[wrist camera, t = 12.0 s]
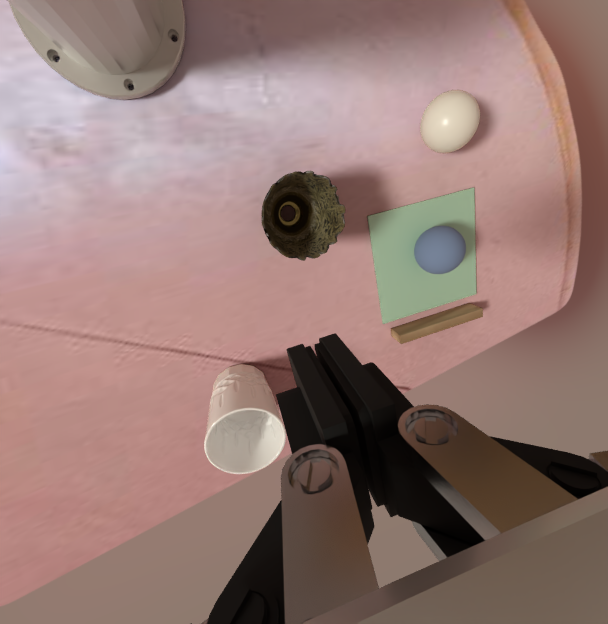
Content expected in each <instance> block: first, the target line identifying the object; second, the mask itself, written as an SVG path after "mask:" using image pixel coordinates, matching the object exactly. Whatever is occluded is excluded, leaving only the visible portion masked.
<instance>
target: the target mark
mask: <svg viewBox="0 0 608 624" xmlns="http://www.w3.org/2000/svg"><path fill="white" fill-rule="evenodd" d="M367 217H368V224H369V231H370V238H371V245H372V252H373V259H374V266H375V273H376V280H377V287H378V294H379V300H380V307H381V314H382V321H383V324H385V323H388V322H391V321H394V320H397V319H400V318H404V317H407V316H410V315H413V314H416V313H419V312H422V311H425V310H428V309H431V308H435V307H438V306H441V305H444V304H447V303H450V302H453V301H456V300H459V299H462V298H465V297H469V296H472V295H475V294H476V250H475V200H474V188H470V189H466V190H462V191H459V192H455V193H451V194H448V195H444V196H440V197H436V198H433V199H429V200H425V201H422V202H418V203H414V204H411V205H407V206H403V207H399V208H396V209H392V210H388V211H385V212H381V213H377V214H373V215H370V216H367ZM435 226H449V227H452V228H454V229H456V230H457V231H458V232H460V234H461V235H462V236H463V238H464V240H465V243H466V253H465V256H464V259H463V261H462V262H461V263H460V265H459V266H458V267H457V268H455V269H454V270H452V271H450V272H448V273H444V274H432V273H429V272H426V271H425V270H423V269H422V268H421V267H420V266H419V265H418V263H417V262H416V259H415V256H414V248H415V244H416V241H417V240H418V238H419V237H420V235H421V234H422V233H423V232H425V231H426V230H428V229H429V228H432V227H435Z"/></svg>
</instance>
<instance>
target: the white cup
mask: <svg viewBox="0 0 608 624" xmlns="http://www.w3.org/2000/svg"><path fill="white" fill-rule="evenodd" d="M285 440H286V432H285V428H284V425H283V422H282V419H281V416H280V413H279V410H278V407H277V404H276V402H275V399H274V396H273V394H272V391H271V389H270V387H269V385H268V382H267V380H266V378H265V376H264V374H263V372H261V371H260V370H259V369H257V368H256V367H254V366H251V365H244V364H239V365H235V366H231V367H228V368H227V369H226V370H224V371H223V372H222V373H220V374H219V376H218V377H217V379H216V381H215V383H214V385H213V394H212V397H211V401H210V408H209V413H208V420H207V428H206V436H205V443H204V448H205V453H206V456H207V458H208V459H209V461H210V462H211V463H212V464H213V465H214V466H215V467H216V468H218V469H220V470H222V471H224V472H227V473H232V474H247V473H252V472H255V471H258V470H260V469H263V468H264V467H266V466H268V465H269V464H271V463H272V462H273V461H274V460H275V459H276V458H277V457H278V456H279V454H280V453H281V451H282V449H283V447H284V445H285Z"/></svg>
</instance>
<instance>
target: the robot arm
mask: <svg viewBox="0 0 608 624" xmlns="http://www.w3.org/2000/svg"><path fill="white" fill-rule="evenodd" d="M7 1H8V2H9V4H10V7H11V9H12V12H13V15H14V17H15V19H16V21H17V23H18V25H19V27H20V28H21V30H22V32H23V34H24V36H25V37H26V39H27V40H28V41H29V43H30V44H31V45H32V47H33V48H34V49H35V51H36V52H37V53H38V54H39V55H40V56H41V57H42V58H43V59H44V61H45V62H46V63H47V64H48V65H49V66H50V67H51V68H53V69H54V70H55V71H56V72H58V73H59V74H60V75H61V76H62V77H64V78H65V79H67V80H68V81H70V82H71V83H73V84H74V85H76V86H77V87H79V88H81V89H83V90H86V91H88V92H90V93H92V94H94V95H98V96H102V97H106V98H110V99H122V100H126V99H134V98H140V97H142V96H145V95H148V94H150V93H153V92H154V91H155V90H157V89H158V88H160V87H161V86H163V85H164V84H165V83H166V82H167V80H168V79H169V78H170V77H171V76H172V75H173V73H174V71H175V69H176V68H177V66H178V64H179V62H180V59H181V56H182V52H183V49H184V42H185V34H186V29H185V14H184V9H183V3H182V0H7ZM173 37H176V38H177V39H178V40H177V41H176V42H173V41H172V38H173ZM56 57H60V60H59V61H58V62H56V60H55V59H56ZM129 85H134V90H129ZM319 342H320V343H318V344H315V350H316V354H317V356H316V355H315V353H314V351H313V350H312V348H311V346H308V347H304V345H303V344H300V345H297V346H294V347H291V348H288V349H287V353H288V356H289V360H290V364H291V367H292V371H293V374H294V378H295V381H296V385H297V388H294V389H291V390H288V391H285V392H282V393H279V394H276V396H277V400H278V404H279V407H280V411H281V414H282V418H283V422H284V425H285V429H286V433H287V436H288V440H289V444H290V447H291V451H292V455H291V457H290V458H289V459H288V460H287V461H286V463H285V465H284V467H283V469H282V474H281V499H282V500H281V501H280V503H279V504H278V506H277V507H276V509H275V510H274V512H273V514H272V515H271V517H270V518H269V520H268V522H267V523H266V525H265V526H264V528H263V529H262V531H261V532H260V534H259V536H258V537H257V539H256V540H255V542H254V543H253V545H252V547H251V548H250V550H249V551H248V553H247V554H246V556H245V558H244V559H243V561H242V562H241V564H240V565H239V567H238V568H237V570H236V571H235V573H234V575H233V576H232V578H231V579H230V581H229V582H228V584H227V585H226V587H225V589H224V591H223V592H222V594H221V595H220V596H219V598H218V600H217V601H216V603H215V605H214V608H213V609H212V611H211V613H210V615H209V618H208V619H207V620H205V621H204V622H202V623H201V624H608V451H603V452H595V453H590V455H589V459H586V458H584V457H581V456H578V455H575V454H571V453H568V452H563V451H558V450H553V449H548V448H543V447H539V446H534V445H529V444H524V443H519V442H514V441H510V440H504V439H500V438H495V437H490V436H488V435H486V434H485V433H484V432H482V431H481V430H479V429H478V428H477V427H475V426H474V425H472V424H471V423H469V422H468V421H467V420H465V419H464V418H462V417H461V416H459V415H458V414H457V413H455V412H453V411H451V410H450V409H448V408H445V407H442V406H438V405H429V404H426V405H418V406H416V407H414V406H413V405H412V404H411V403H410V402H409V401H408V400H407V399H406V398H405V396H404V395H403V394H402V393H401V392H400V391H399V390H398V389H397V388H396V387H395V386H394V384H393V383H392V382H391V381H390V380H389V379H388V378H387V377H386V376H385V375H384V374H383V373H382V371H381V370H380V369H379V368H378V367H377V366H376V365H375V364H374V363H368V364H365V365H362V364H361V363H360V362H359V361H358V359H357V358H356V357H355V356H354V355H353V354H352V352H351V351H350V350H349V349H348V348H347V346H346V345H345V344H344V343H343V342H342V340H341V339H340V338H339V337H338V336H337V334H332V335H329V336H325V337H322V338H319ZM368 489H369V490H368ZM369 491H370V493H371V495H372V497H373V499H374V501H375V503H376V505H377V506H378V507H379V506H381V505H385V507H386V509H387V511H388V513H389V515H390V517H393V516H395V515H399V516H400V517H403V518H405V519H408V520H411V521H412V523H413V526H414V528H415V529H416V531H417V533H418V534H419V536H420V537H421V538H422V540H423V541H424V542H425V543H426V545H427V546H428V547H429V549H430V550H431V551H432V553H433V554H434V555H435V556H436V558H437V559H438V560H439V562H437V563H434V564H432V565H430V566H428V567H426V568H423V569H421V570H419V571H417V572H414V573H412V574H410V575H408V576H405V577H403V578H401V579H399V580H396V581H394V582H392V583H390V584H388V585H385V586H383V587H381V588H379V586H378V583H377V579H376V575H375V571H374V567H373V564H372V560H371V556H370V552H369V548H368V542H369V540H370V537H371V534H372V531H373V528H374V522H373V518H372V512H371V509H372V505H371V499H370V495H369ZM191 624H192V623H191Z"/></svg>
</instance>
